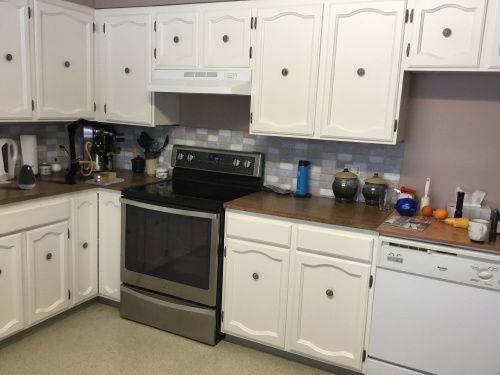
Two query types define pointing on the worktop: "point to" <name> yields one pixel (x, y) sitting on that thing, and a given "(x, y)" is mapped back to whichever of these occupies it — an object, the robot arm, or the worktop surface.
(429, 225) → the worktop surface
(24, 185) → the pump dispenser
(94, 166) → the wall sconce
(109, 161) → the lever with copper knob
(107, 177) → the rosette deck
